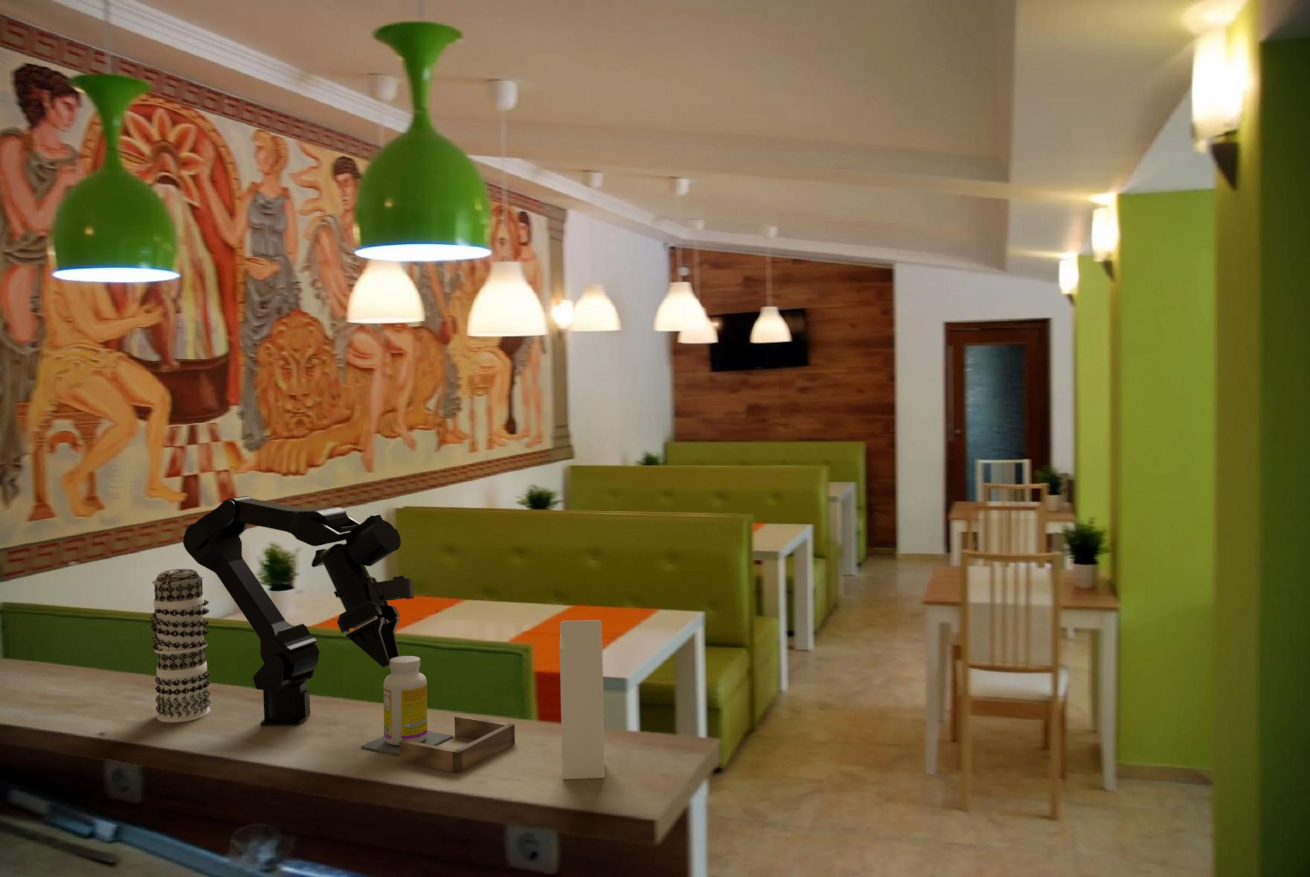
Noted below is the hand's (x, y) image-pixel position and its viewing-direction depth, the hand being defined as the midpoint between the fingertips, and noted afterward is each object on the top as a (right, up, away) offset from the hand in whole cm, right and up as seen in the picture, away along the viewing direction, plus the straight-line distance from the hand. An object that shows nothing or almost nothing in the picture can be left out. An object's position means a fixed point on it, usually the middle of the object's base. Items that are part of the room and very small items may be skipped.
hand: (392, 665), depth 167 cm
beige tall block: (+32, -12, -17) cm, 38 cm away
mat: (+3, -11, -3) cm, 12 cm away
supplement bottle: (+3, -11, -3) cm, 12 cm away
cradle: (+12, -11, -8) cm, 18 cm away
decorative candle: (-39, -11, +13) cm, 43 cm away
